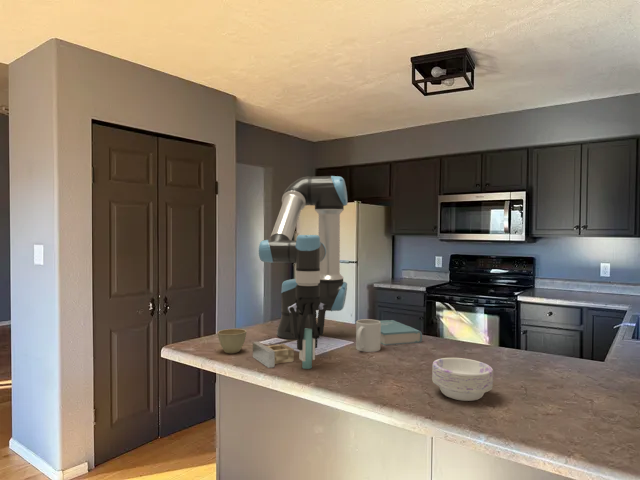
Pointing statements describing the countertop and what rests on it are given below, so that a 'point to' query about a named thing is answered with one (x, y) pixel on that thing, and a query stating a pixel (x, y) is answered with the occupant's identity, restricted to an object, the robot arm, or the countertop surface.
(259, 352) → the backstop rail
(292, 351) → the block
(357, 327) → the mug
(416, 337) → the book
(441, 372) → the paper bowls
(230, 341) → the flower pot
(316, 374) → the countertop surface
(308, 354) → the dowel
